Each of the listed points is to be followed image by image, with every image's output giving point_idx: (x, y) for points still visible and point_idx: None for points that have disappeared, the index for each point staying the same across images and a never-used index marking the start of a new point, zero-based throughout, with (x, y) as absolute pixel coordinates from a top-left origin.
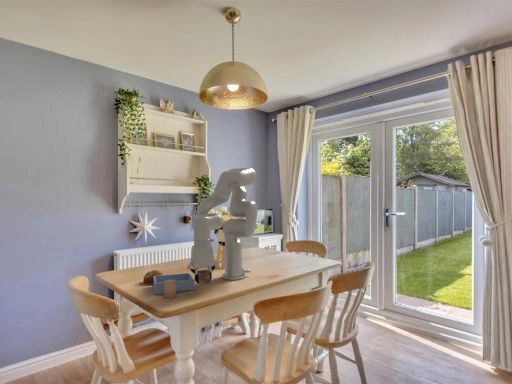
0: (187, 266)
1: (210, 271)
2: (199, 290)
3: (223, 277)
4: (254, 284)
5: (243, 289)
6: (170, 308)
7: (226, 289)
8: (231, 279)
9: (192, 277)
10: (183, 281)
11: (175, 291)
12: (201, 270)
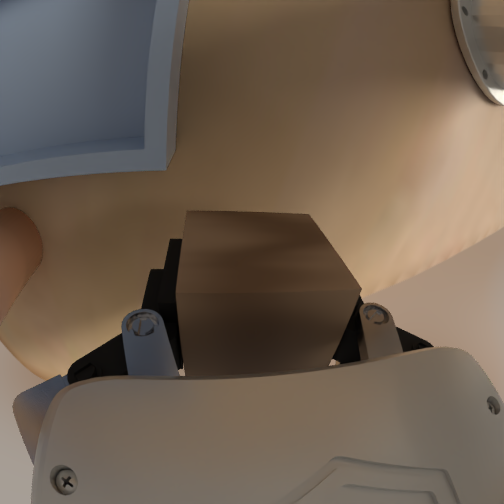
0: (24, 428)
1: (345, 362)
2: (216, 166)
3: (457, 22)
4: (494, 210)
5: (437, 257)
6: (56, 370)
7: (387, 225)
8: (476, 81)
9: (166, 59)
10: (47, 178)
11: (26, 277)
12: (265, 301)
